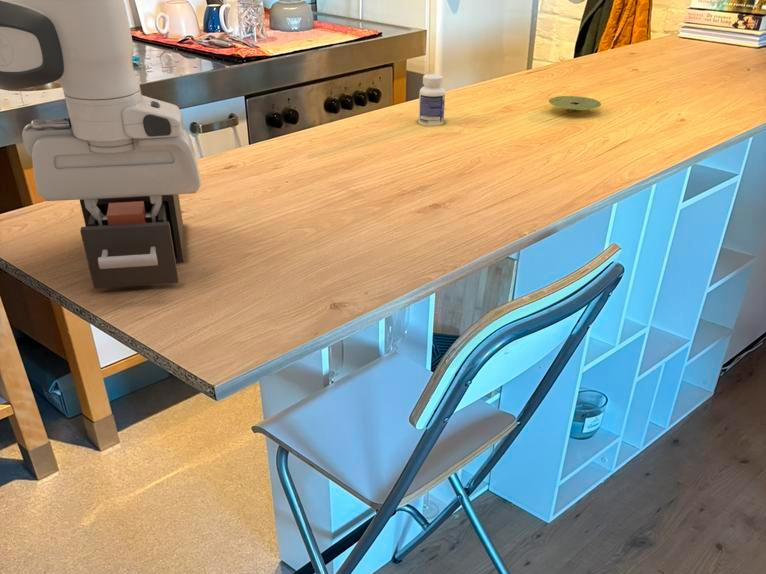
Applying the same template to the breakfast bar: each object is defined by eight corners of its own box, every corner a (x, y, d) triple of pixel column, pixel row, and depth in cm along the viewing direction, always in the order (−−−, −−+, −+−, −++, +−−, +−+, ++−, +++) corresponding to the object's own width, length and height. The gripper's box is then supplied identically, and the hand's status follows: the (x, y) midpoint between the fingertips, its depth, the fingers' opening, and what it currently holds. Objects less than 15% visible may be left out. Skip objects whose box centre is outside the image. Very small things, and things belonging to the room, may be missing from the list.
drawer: (178, 296, 105) (168, 237, 100) (91, 303, 103) (76, 243, 98) (178, 245, 117) (169, 191, 112) (100, 250, 116) (88, 195, 111)
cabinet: (183, 263, 115) (173, 194, 109) (95, 269, 113) (79, 200, 107) (183, 227, 125) (173, 162, 119) (102, 232, 123) (88, 166, 117)
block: (113, 249, 106) (106, 215, 104) (115, 236, 110) (108, 203, 107) (148, 247, 107) (142, 213, 104) (149, 234, 111) (143, 201, 108)
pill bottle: (446, 126, 168) (449, 78, 162) (422, 127, 167) (423, 79, 161) (439, 119, 172) (441, 72, 166) (415, 120, 171) (417, 73, 165)
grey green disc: (551, 102, 183) (552, 93, 181) (602, 107, 180) (603, 98, 179) (543, 116, 174) (545, 106, 173) (596, 121, 172) (598, 111, 171)
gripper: (13, 127, 94) (44, 243, 103) (192, 120, 98) (207, 233, 107) (21, 113, 99) (50, 224, 108) (191, 106, 102) (205, 216, 111)
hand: (129, 229), depth 107 cm, fingers closed on block, 4 cm apart
